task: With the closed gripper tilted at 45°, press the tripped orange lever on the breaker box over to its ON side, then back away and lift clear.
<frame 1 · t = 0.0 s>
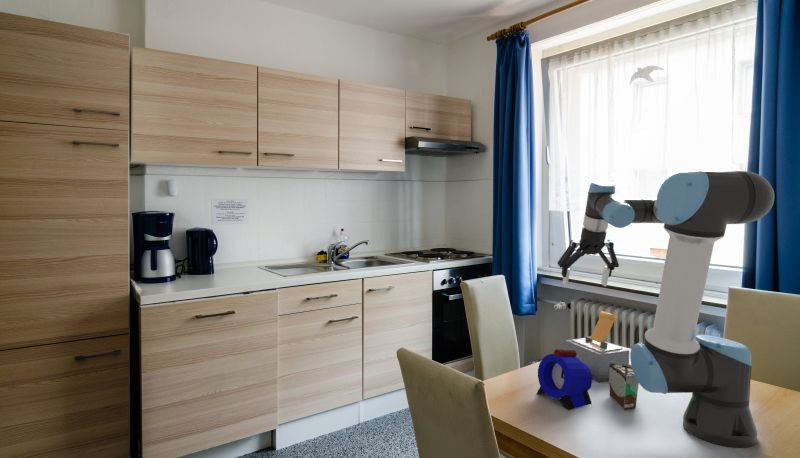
hand: (584, 284, 163), 28 cm above the table, tool tilted 20°, fingers open, 13 cm apart
alarm clock: (565, 399, 137), on the table
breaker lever: (603, 327, 157), point 15 cm above the table, hinge at -30.0°
food container: (627, 403, 133), on the table
breaker box: (595, 371, 157), on the table
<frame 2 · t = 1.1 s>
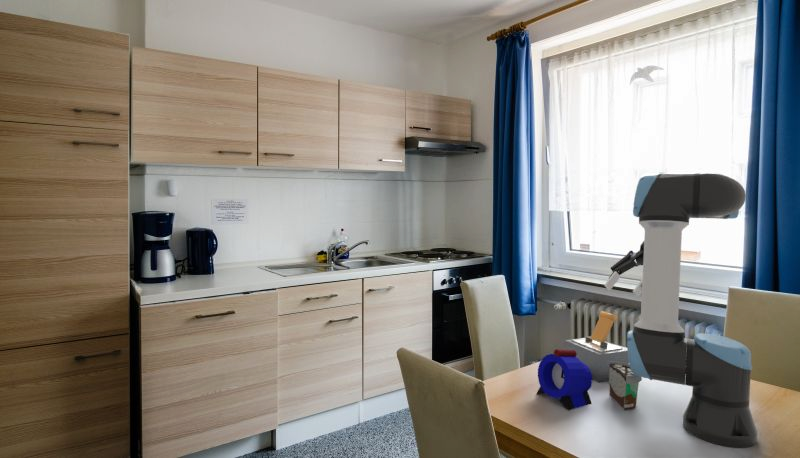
hand: (620, 291, 159), 26 cm above the table, tool tilted 45°, fingers open, 11 cm apart
nothing on the table moved.
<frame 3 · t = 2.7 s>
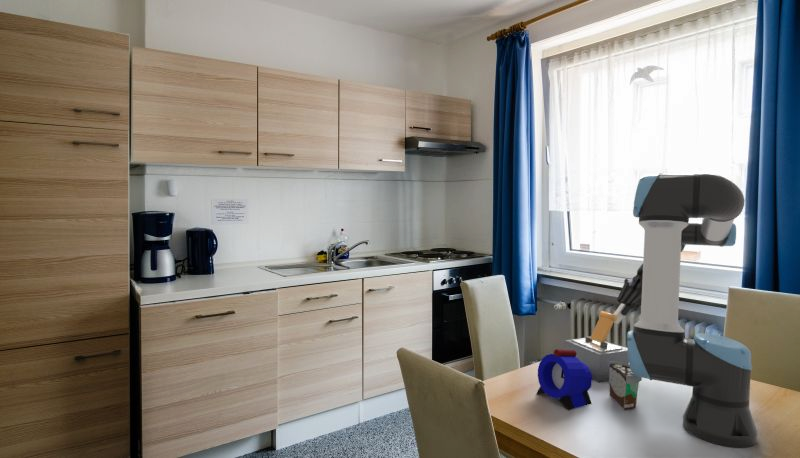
hand: (614, 320, 159), 16 cm above the table, tool tilted 45°, fingers closed
nothing on the table moved.
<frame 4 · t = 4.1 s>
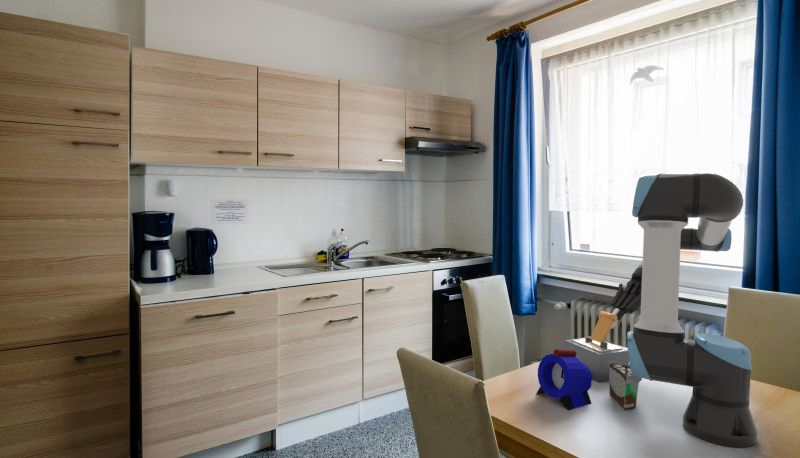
hand: (608, 325, 159), 15 cm above the table, tool tilted 45°, fingers closed
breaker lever: (603, 327, 157), point 15 cm above the table, hinge at -30.0°, touching gripper
everything else where it was.
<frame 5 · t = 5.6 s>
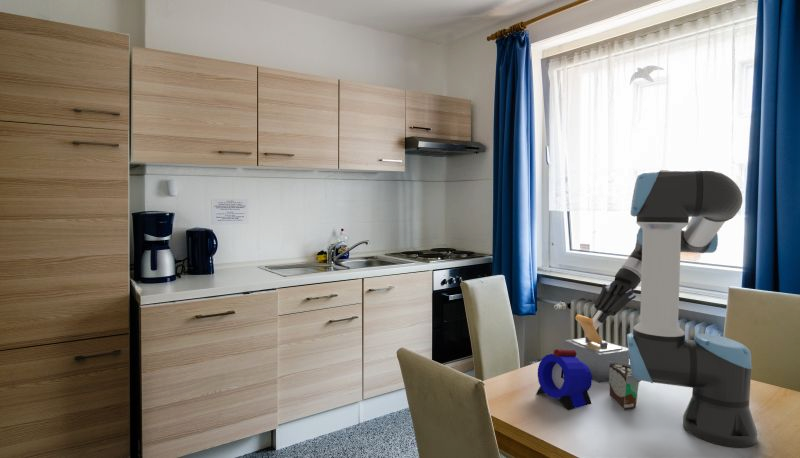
hand: (591, 328, 156), 15 cm above the table, tool tilted 45°, fingers closed
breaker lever: (589, 329, 155), point 15 cm above the table, hinge at 33.3°, touching gripper
everything else where it was.
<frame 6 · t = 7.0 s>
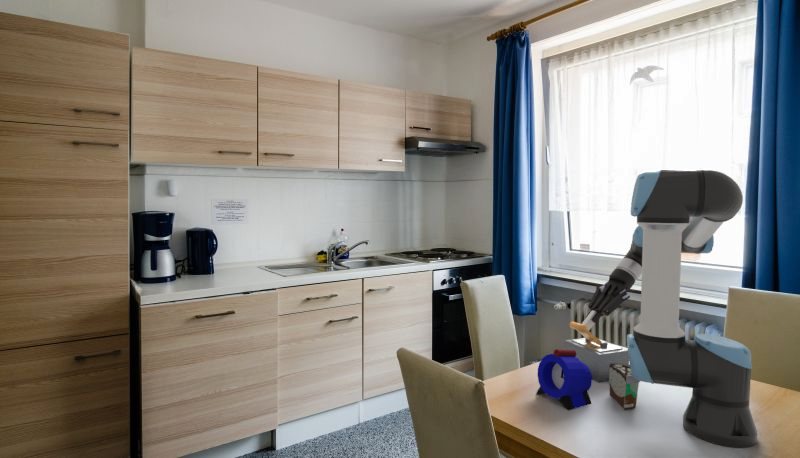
hand: (584, 328, 155), 15 cm above the table, tool tilted 45°, fingers closed
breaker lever: (585, 333, 155), point 13 cm above the table, hinge at 52.2°
everything else where it was.
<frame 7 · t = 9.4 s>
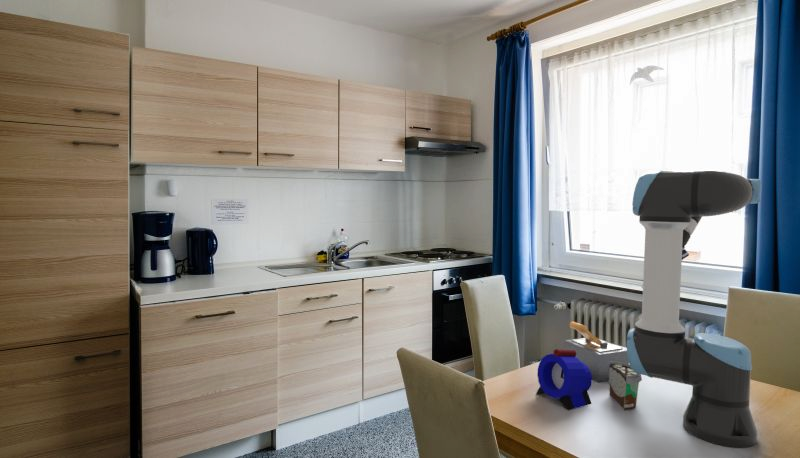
hand: (645, 289, 156), 28 cm above the table, tool tilted 35°, fingers closed
nothing on the table moved.
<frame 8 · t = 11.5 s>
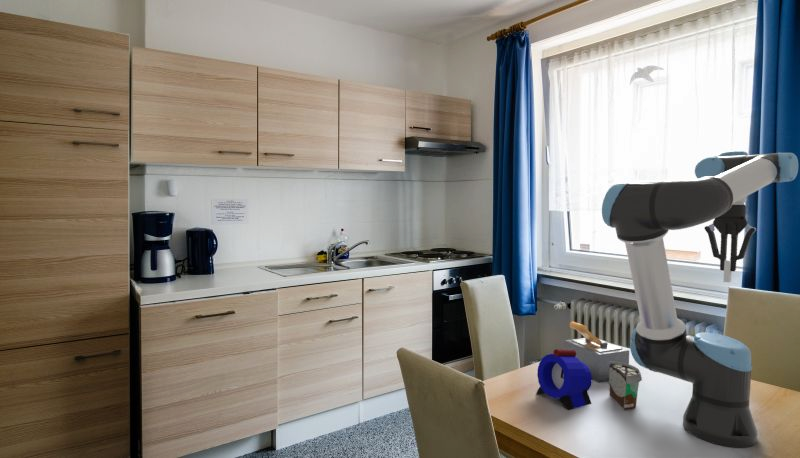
hand: (727, 281, 143), 32 cm above the table, tool pointing down, fingers closed
nothing on the table moved.
at the end: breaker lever at +52° (first picture: -30°); food container moved 0.2 cm from its start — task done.
